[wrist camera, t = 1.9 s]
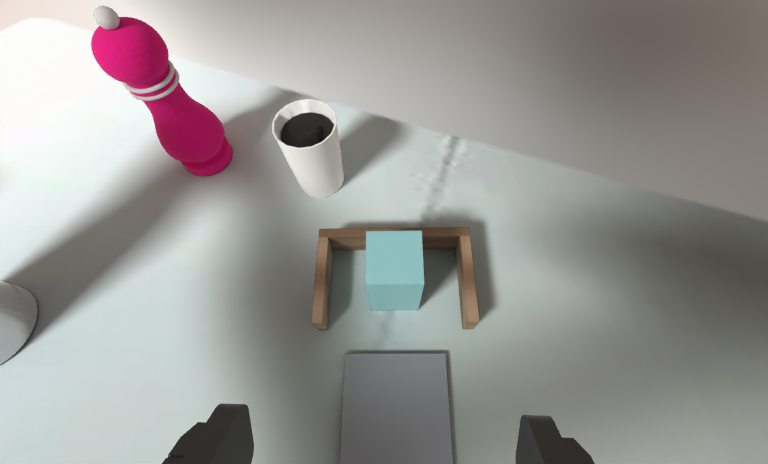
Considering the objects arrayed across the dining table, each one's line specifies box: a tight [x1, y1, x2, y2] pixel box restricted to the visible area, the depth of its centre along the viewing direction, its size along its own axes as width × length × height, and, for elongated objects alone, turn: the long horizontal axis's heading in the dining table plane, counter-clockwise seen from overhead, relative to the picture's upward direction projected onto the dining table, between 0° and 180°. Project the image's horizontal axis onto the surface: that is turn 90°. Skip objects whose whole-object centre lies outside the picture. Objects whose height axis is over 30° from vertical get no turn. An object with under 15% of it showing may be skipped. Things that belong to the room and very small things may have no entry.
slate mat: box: [340, 354, 453, 464], centre depth 34 cm, size 10×10×1 cm
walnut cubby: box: [311, 227, 479, 330], centre depth 38 cm, size 10×16×4 cm, turn 90°
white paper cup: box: [272, 99, 344, 198], centre depth 42 cm, size 7×7×10 cm
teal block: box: [365, 231, 424, 310], centre depth 36 cm, size 5×5×9 cm
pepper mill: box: [91, 6, 233, 176], centre depth 39 cm, size 7×7×20 cm
